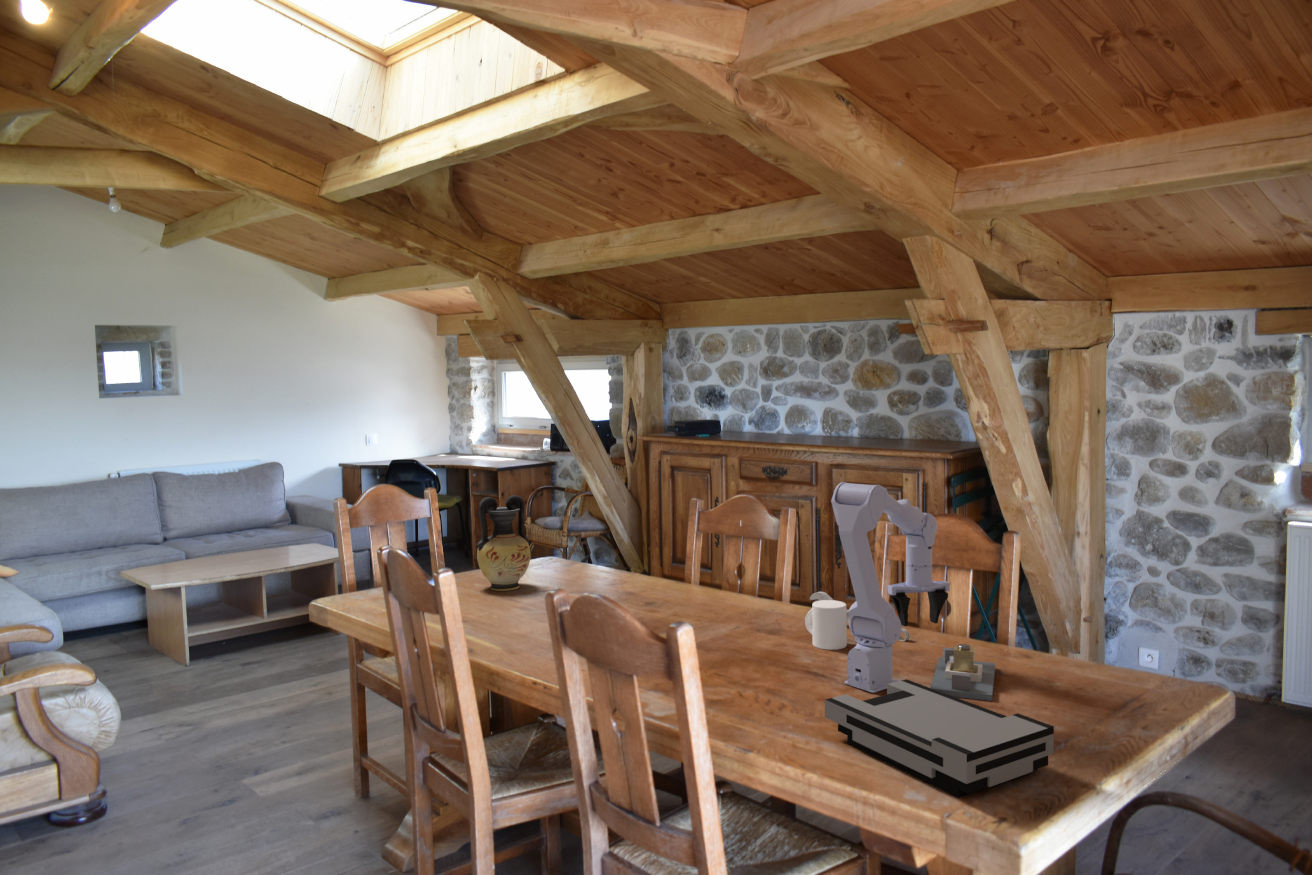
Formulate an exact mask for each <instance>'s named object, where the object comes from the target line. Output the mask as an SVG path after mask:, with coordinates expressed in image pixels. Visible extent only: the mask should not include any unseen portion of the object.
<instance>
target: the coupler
mask: <svg viewBox="0 0 1312 875" xmlns="http://www.w3.org/2000/svg"><path fill="white" fill-rule="evenodd" d="M953 648H954V671H960V672H970V673H974V661H975V646H971V645H970V644H966V643H959V644H954V647H953Z"/></svg>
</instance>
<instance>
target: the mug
mask: <svg viewBox="0 0 1312 875" xmlns="http://www.w3.org/2000/svg"><path fill="white" fill-rule="evenodd" d="M811 606H812V608H811V609H810V610H809V611H808V612H807V613H806V615H805V618H804V625H805V628H806V630H807V632H809V634H811V636H812V645H813V647H815V648H817V649H820V650H827V651H828V650H829V651H835V650H837V651H839V650H841V649H844V648H846V647H847V641H848V638H847V631H848V630H847V628H848V627H847V626H848V624H847V623H848V622H847V609H848V608H847V604H846V602H844V601H840V600H834V599H833V600H820V601H819V600H815V601H813V602H812V605H811Z"/></svg>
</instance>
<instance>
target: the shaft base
mask: <svg viewBox="0 0 1312 875" xmlns="http://www.w3.org/2000/svg"><path fill="white" fill-rule="evenodd" d="M995 674H996V663H995V662H986V661H976V660H974V673H970V672H960V671H954V647H942V657H939V658H938V661H937V665H936V667H935V671H934V673H933V678H932V680H931V683H930V687H929V688H932V689H934V690H937V691H940V692H942V693H945V694H948V695H950V696H953V697H956V698H960V699H961V698H962V699H971V700H978V701H979V700H980V701H989V702H992V701H993V695H994V686H995Z"/></svg>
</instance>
